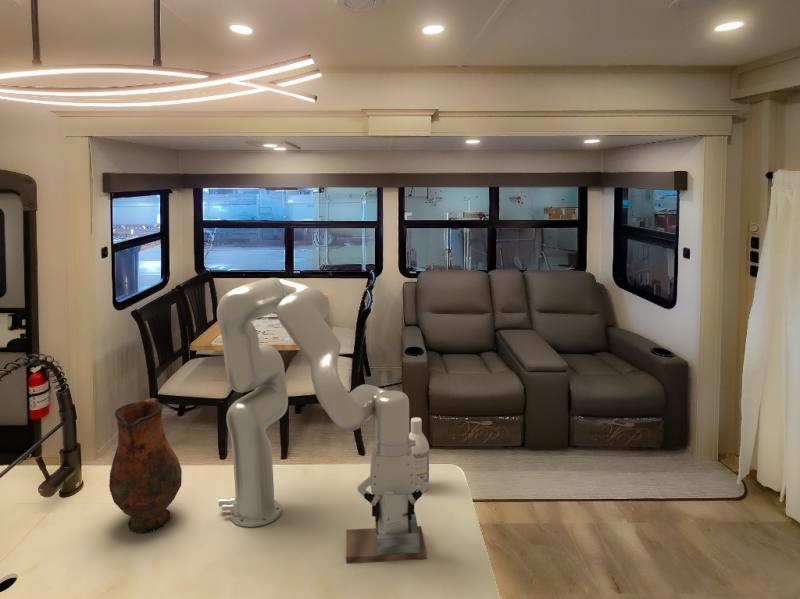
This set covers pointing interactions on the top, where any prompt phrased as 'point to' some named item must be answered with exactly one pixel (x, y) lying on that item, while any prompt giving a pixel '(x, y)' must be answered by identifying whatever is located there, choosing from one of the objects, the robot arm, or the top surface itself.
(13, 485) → the top surface
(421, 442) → the bath foam
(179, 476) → the pitcher
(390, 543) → the u rest
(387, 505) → the skincare box
